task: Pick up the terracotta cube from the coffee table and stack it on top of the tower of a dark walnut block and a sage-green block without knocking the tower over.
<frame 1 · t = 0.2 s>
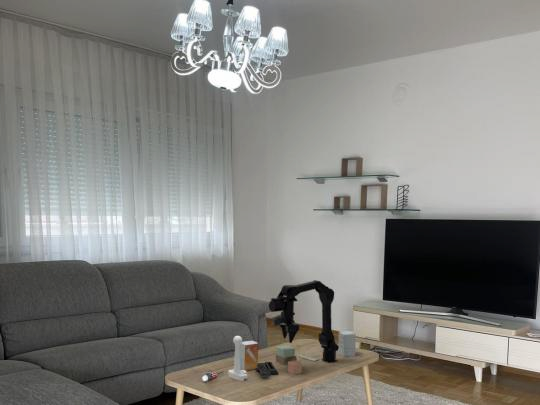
hand: (287, 340, 255), 14 cm above the table, tool pointing down, fingers open, 9 cm apart
joystick: (239, 377, 240), on the table
walnut base block: (285, 362, 266), on the table, touching sage top block
terracotta cube: (294, 372, 249), on the table
supplement box: (346, 355, 283), on the table
small box: (247, 368, 254), on the table
sage top block: (285, 355, 266), point 4 cm above the table, touching walnut base block
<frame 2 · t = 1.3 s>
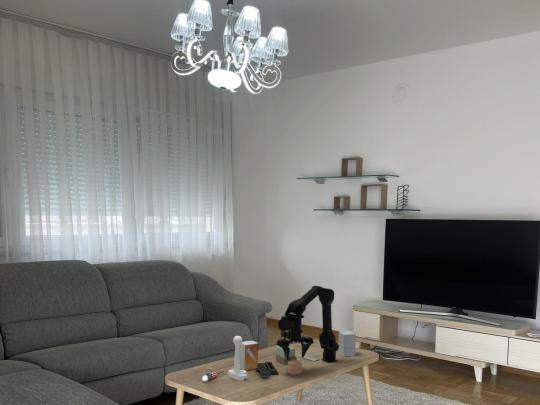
hand: (295, 358, 249), 7 cm above the table, tool pointing down, fingers open, 9 cm apart
walnut base block: (286, 362, 265), on the table
sage top block: (285, 355, 266), point 4 cm above the table
everything else where it was.
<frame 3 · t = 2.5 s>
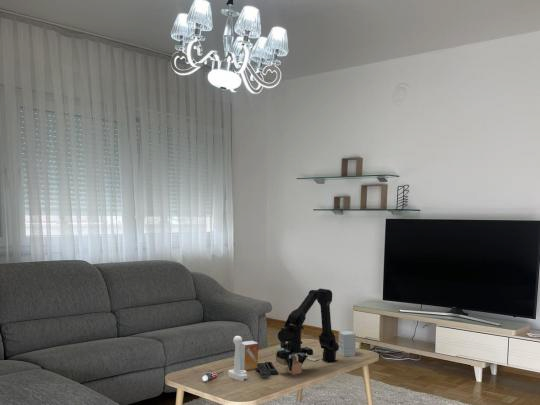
hand: (294, 370, 249), 1 cm above the table, tool pointing down, fingers closed on terracotta cube, 5 cm apart
walnut base block: (286, 362, 266), on the table, touching sage top block
terracotta cube: (294, 372, 249), on the table, touching gripper
sage top block: (285, 355, 266), point 4 cm above the table, touching walnut base block
everything else where it was.
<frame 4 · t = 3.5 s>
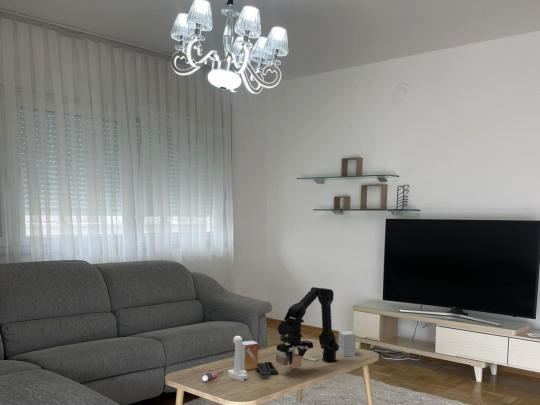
hand: (294, 363, 249), 4 cm above the table, tool pointing down, fingers closed on terracotta cube, 5 cm apart
terracotta cube: (294, 365, 249), point 3 cm above the table, touching gripper
everything else where it was.
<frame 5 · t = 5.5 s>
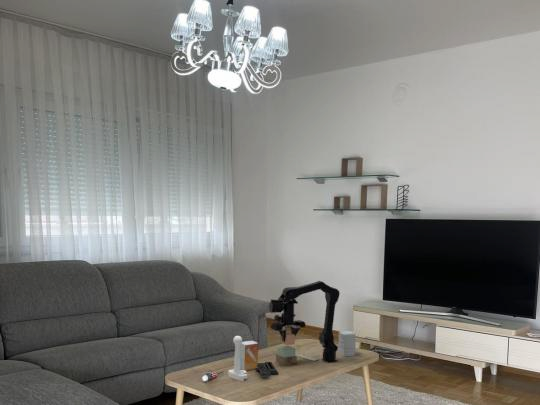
hand: (287, 341, 263), 12 cm above the table, tool pointing down, fingers closed on terracotta cube, 5 cm apart
walnut base block: (286, 362, 265), on the table
terracotta cube: (287, 343, 263), point 11 cm above the table, touching gripper
sage top block: (286, 355, 266), point 4 cm above the table
everything else where it was.
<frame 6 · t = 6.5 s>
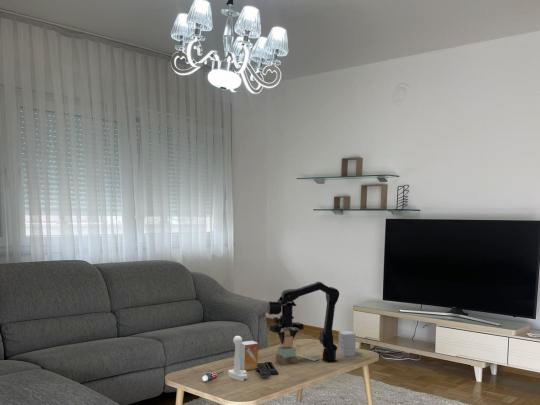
hand: (286, 343, 266), 10 cm above the table, tool pointing down, fingers closed on terracotta cube, 5 cm apart
terracotta cube: (286, 345, 266), point 9 cm above the table, touching gripper
everything else where it was.
when the fingers open (10 cm above the table, at t = 6.7 s): terracotta cube drops 1 cm, resting on sage top block.
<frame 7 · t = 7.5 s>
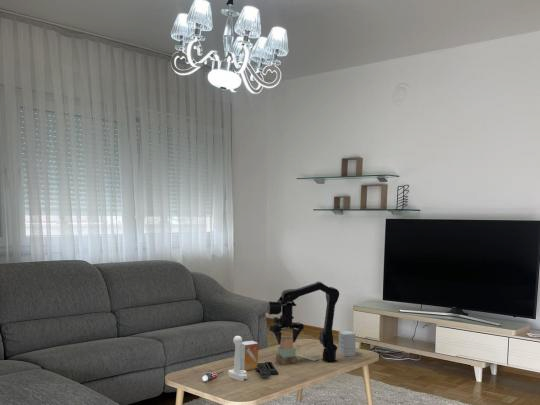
hand: (286, 343, 266), 10 cm above the table, tool pointing down, fingers open, 9 cm apart
terracotta cube: (286, 347, 266), point 8 cm above the table, touching sage top block
sage top block: (286, 355, 266), point 4 cm above the table, touching terracotta cube
everything else where it was.
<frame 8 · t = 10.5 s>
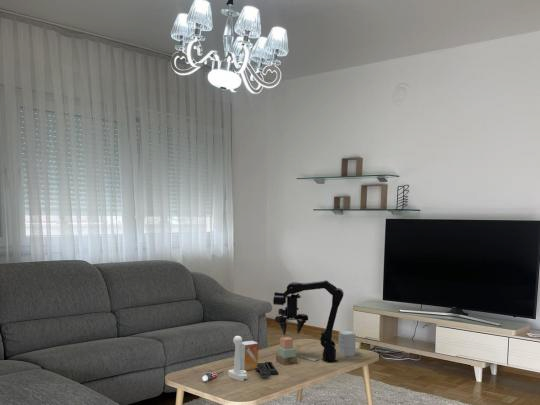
hand: (291, 333, 275), 13 cm above the table, tool pointing down, fingers open, 9 cm apart
walnut base block: (286, 362, 265), on the table, touching sage top block
sage top block: (287, 355, 265), point 4 cm above the table, touching terracotta cube, walnut base block
everything else where it was.
at the end: terracotta cube 0.2 cm off-centre on the walnut base block, point 8.0 cm above the walnut base block's base; sage top block moved 0.7 cm from its start; sage top block tilted 0° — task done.
